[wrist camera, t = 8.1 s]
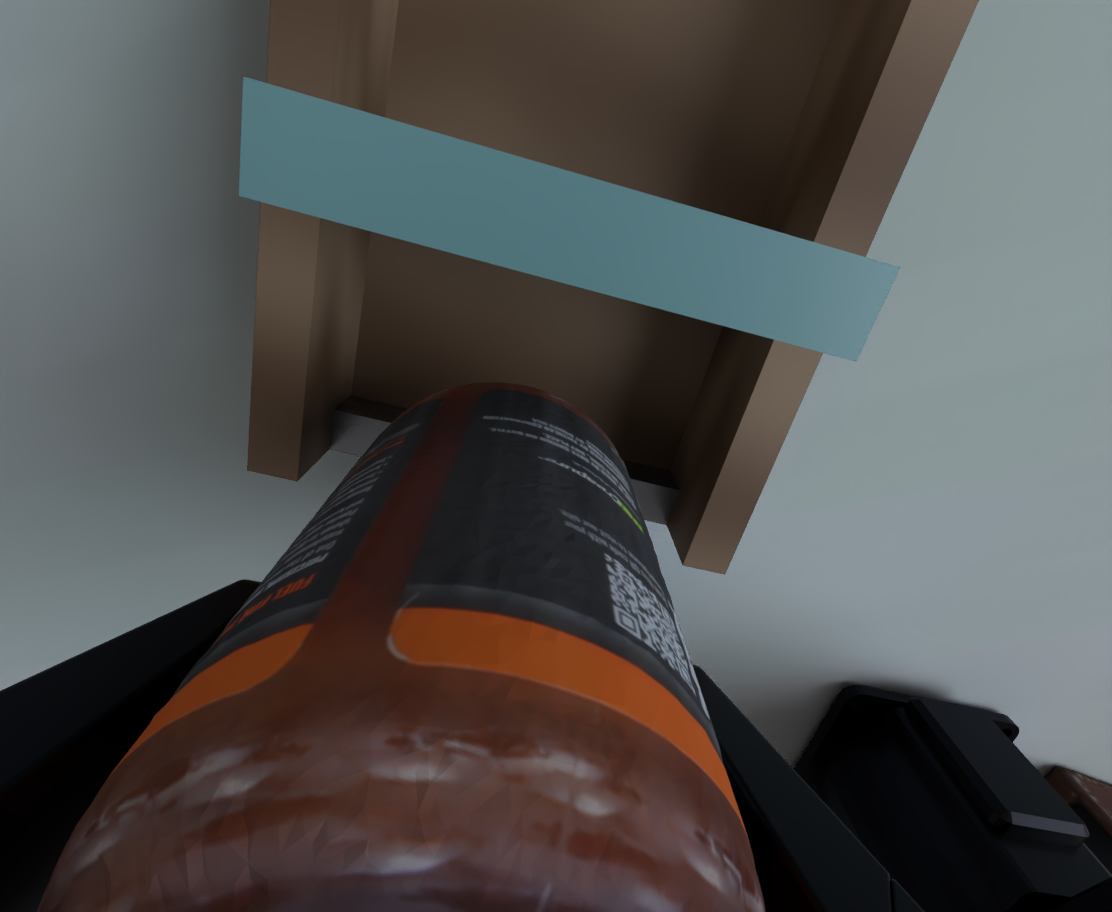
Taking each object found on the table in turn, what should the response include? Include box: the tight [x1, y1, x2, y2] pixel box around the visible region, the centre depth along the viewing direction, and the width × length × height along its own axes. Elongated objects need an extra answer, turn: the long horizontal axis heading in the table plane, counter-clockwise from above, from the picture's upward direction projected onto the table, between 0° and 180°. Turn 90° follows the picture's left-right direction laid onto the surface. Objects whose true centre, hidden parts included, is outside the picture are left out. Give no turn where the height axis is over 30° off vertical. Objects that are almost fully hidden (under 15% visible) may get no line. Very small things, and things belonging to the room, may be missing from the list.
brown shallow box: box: [247, 0, 979, 574], centre depth 11 cm, size 16×10×4 cm, turn 166°
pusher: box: [239, 76, 900, 361], centre depth 9 cm, size 1×8×6 cm, turn 75°
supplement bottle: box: [37, 382, 766, 912], centre depth 7 cm, size 6×6×11 cm
